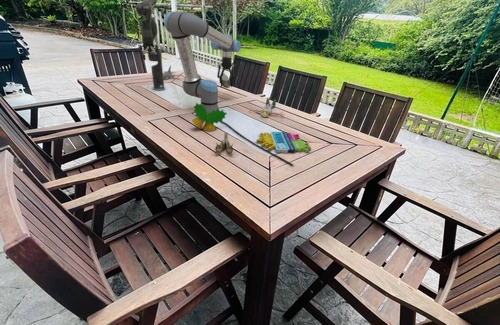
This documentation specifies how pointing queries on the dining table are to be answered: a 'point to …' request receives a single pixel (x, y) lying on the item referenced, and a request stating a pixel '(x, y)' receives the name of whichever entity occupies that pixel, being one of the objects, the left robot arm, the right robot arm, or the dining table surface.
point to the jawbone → (224, 145)
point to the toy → (267, 109)
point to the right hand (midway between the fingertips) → (226, 86)
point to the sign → (283, 142)
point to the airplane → (168, 74)
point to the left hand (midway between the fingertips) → (149, 59)
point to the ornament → (207, 117)
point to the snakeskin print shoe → (225, 81)
